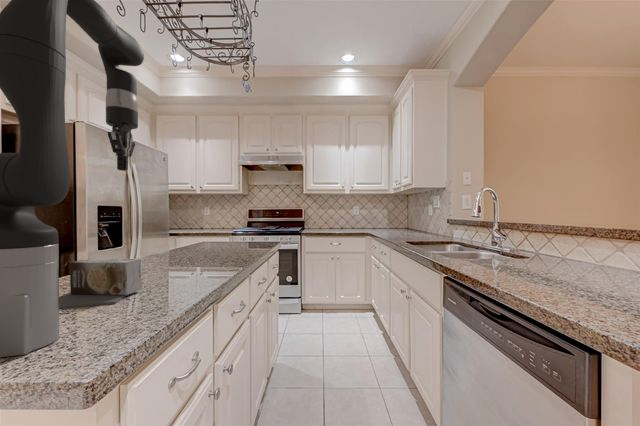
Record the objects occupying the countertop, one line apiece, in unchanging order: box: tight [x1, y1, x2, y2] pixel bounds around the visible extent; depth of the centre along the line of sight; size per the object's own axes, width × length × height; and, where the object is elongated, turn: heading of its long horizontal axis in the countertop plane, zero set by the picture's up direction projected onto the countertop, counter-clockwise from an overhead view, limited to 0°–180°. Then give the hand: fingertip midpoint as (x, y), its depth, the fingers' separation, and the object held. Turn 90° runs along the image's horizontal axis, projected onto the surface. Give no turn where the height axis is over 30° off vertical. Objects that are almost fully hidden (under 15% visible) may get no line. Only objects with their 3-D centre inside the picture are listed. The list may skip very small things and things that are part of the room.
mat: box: [59, 292, 128, 309], centre depth 75 cm, size 12×16×1 cm
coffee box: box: [69, 258, 143, 296], centre depth 79 cm, size 9×6×16 cm
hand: (122, 170), depth 81 cm, fingers closed
